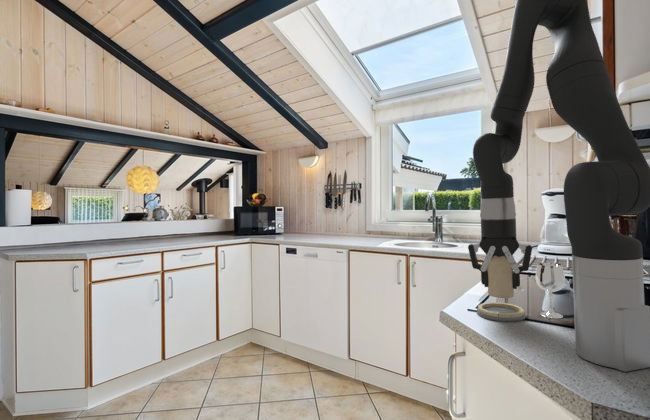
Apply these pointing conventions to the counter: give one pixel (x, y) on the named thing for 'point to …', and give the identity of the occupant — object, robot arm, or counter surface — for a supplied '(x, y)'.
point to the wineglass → (550, 283)
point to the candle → (500, 278)
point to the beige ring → (501, 312)
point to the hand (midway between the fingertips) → (500, 287)
